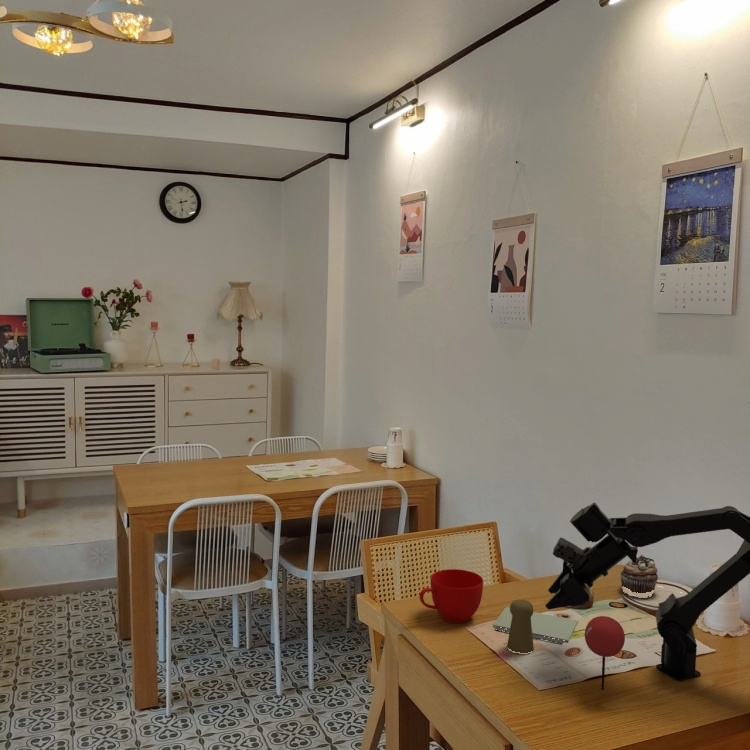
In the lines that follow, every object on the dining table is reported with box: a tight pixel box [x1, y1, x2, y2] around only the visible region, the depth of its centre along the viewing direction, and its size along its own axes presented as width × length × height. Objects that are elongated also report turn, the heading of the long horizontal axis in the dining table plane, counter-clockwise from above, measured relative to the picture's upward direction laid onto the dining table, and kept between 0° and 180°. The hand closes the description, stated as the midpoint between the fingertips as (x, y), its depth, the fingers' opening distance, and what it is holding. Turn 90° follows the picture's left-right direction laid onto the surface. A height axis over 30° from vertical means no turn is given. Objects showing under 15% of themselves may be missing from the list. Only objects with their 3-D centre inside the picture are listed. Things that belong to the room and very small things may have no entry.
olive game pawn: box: [506, 599, 535, 653], centre depth 169 cm, size 6×6×11 cm
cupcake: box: [619, 554, 659, 593], centre depth 203 cm, size 10×10×10 cm
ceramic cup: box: [419, 568, 484, 624], centre depth 184 cm, size 13×17×10 cm
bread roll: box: [554, 584, 595, 609], centre depth 197 cm, size 10×10×8 cm
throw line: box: [494, 627, 564, 644], centre depth 176 cm, size 16×2×1 cm, turn 64°
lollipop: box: [584, 615, 626, 690], centre depth 152 cm, size 8×8×15 cm
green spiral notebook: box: [492, 606, 579, 642], centre depth 182 cm, size 18×12×1 cm, turn 64°
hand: (548, 599), depth 167 cm, fingers open, 9 cm apart
